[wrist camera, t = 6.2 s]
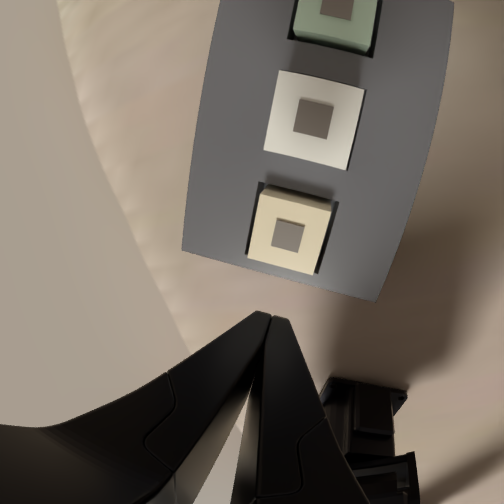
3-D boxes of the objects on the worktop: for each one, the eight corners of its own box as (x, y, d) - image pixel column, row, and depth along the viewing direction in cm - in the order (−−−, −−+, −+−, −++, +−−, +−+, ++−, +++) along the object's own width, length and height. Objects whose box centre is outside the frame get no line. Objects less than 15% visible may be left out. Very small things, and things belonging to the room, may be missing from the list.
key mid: (341, 160, 13) (345, 170, 11) (274, 143, 14) (262, 150, 11) (357, 94, 12) (364, 89, 9) (288, 78, 12) (278, 69, 10)
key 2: (315, 250, 16) (312, 276, 14) (259, 236, 17) (246, 258, 14) (330, 196, 15) (331, 212, 13) (270, 181, 16) (259, 194, 13)
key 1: (362, 58, 12) (370, 45, 10) (299, 43, 12) (292, 28, 10) (371, 5, 11) (379, -16, 8) (309, -9, 11) (305, -32, 9)
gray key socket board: (369, 274, 17) (375, 302, 15) (202, 229, 19) (181, 250, 16) (434, 18, 11) (454, 2, 8) (247, -23, 12) (232, -46, 9)
